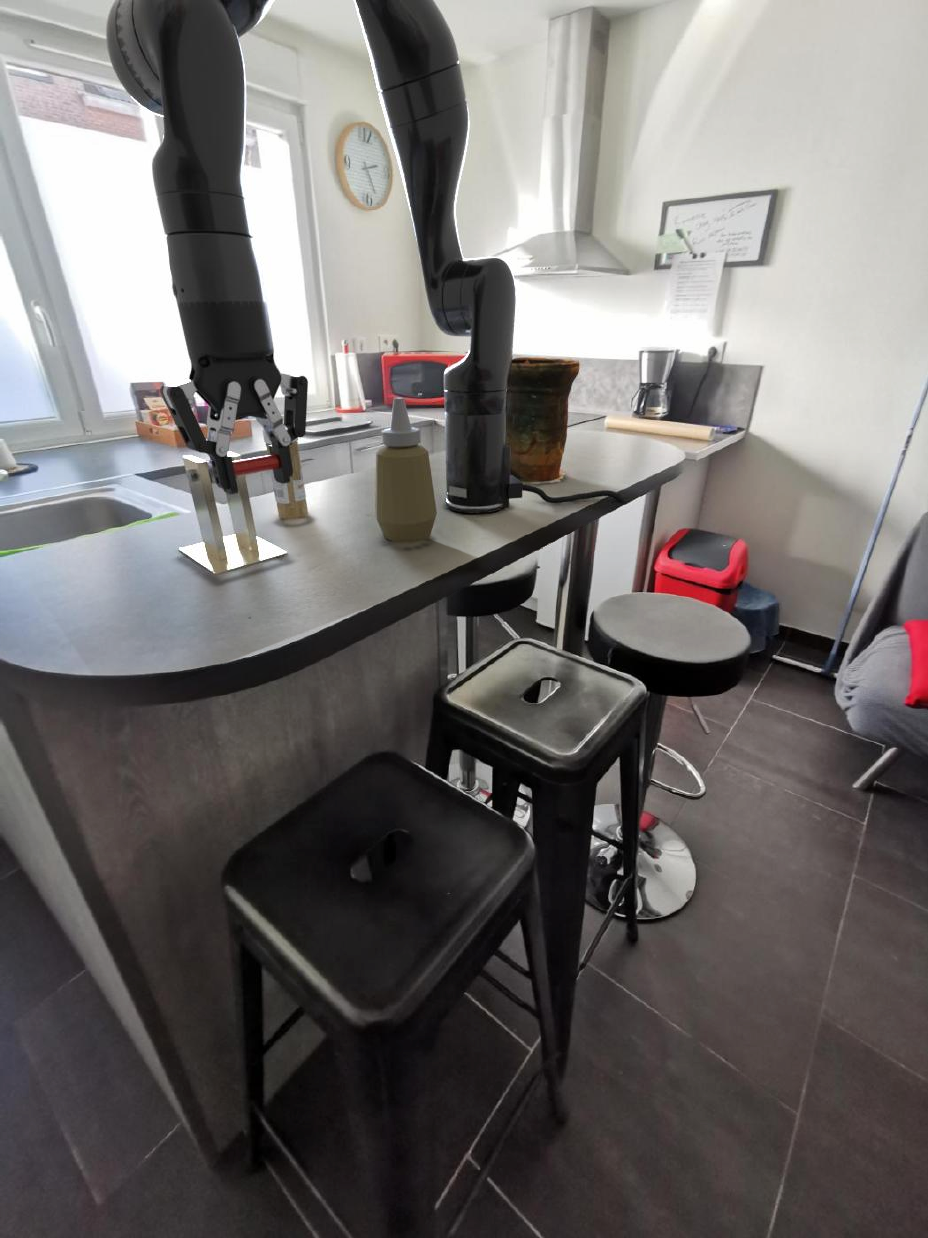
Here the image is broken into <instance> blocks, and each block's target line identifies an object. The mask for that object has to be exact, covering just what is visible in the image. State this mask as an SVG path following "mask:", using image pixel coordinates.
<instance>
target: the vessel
mask: <svg viewBox="0 0 928 1238" xmlns="http://www.w3.org/2000/svg"><path fill="white" fill-rule="evenodd" d="M579 373H580V361H579V360H576V359H575V360H574V359H572V358H547V357H530V356H529V357H528V356H527V357H525V356H523V357H515V358H512V365H511V369H510V373H509V376H508V388H507V389H508V390H507V434H506V443H507V444H509V445H510V448H511V451H510V475H513V476H514V477H516V478H517V479H518V480H520V481H521V482H522V483H523V484H525V485H540V484H542V483H543V484H544V483H545V484H548V483H551V484H552V483H556V482H557V483H559V482H561V480H562V479H564V475H565V472H563V470H561V466H562V461H563V455H564V453H565V448H566V443H567V437H568V422H569V397H570V394H571V391H572V386H573V383H574V382H575V380H576V379H577V377H578V376H579Z"/></svg>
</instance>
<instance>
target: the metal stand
mask: <svg viewBox="0 0 928 1238" xmlns="http://www.w3.org/2000/svg"><path fill="white" fill-rule="evenodd" d="M227 455H229V456H231V457H232V461H238V460H243V457H242V455H241V454H238V453H235V452H232V451H230V450H229V451H228V454H227ZM182 460H183V465H184V469H185V473H186V474H185V475H186V478H187V481H188V485H189V489H190V493H191V499H192V501H193V506H194V511H195V514H196V518H197V522H198V523H197V524H198V527H199V531H200V535H201V539H202V542H200V543H196V544H193V545H188V546H185V547H179V548H178V551H179V552H181V553H182V554H184V555H185V556H186V557H188V558H190V559H191V560H193V561H194V562H195V563H197V564H198V565H199V566H201V567H203V568H204V569H206V570H207V571H209V572H210V573H211V574H212V575H214V576H218V575H220V574H223V573H228V572H230V571H234V570H238V569H241V568H244V567H248V566H251V565H256V564H259V563H262V562H265V561H269V560H272V559H276V558H279V557H283V556H286V555H288V551H286V550H283V549H281V548H280V547H278V546H276V545H274V544H272V543H271V542H268V541H266V540H265V539H262V538H261V537H258V535H257V530H256V525H255V520H254V519H255V518H254V514H253V509H252V504H251V499H250V496H249V495H250V494H249V489H248V484H247V479H246V475H241V476H236V481H237V486H238V493H236V494H231V495H230V494H228V493H226V492H225V495H226V500H227V505H228V510H229V514H230V519H231V522H232V528H233V532H234V533H233V534H232V535H228V536H224V534H223V529H222V525H221V520H220V515H219V512H218V507H217V503H216V502H217V501H216V497H215V494H214V489H213V485H212V484H211V480H210V475H209V471H208V466H207V462H208V461H206V460H204V459H202V458H199V457H196V456H193V455H191V454H190V455H183V456H182Z"/></svg>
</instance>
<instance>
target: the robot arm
mask: <svg viewBox="0 0 928 1238" xmlns="http://www.w3.org/2000/svg"><path fill="white" fill-rule="evenodd" d="M275 1H276V0H114V2H113V3H112V6H111V8H110V10H109V13H108V15H107V20H106V27H105V28H106V29H105V37H106V38H105V39H106V48H107V52H108V57H109V60H110V64H111V67H112V69H113V71H114V73H115V76H116V78H117V79H118V81H119V83H120V84H121V86H122V87H123V89H124V91H126V93H127V94H128V95H129V96H130V97H131V98H132V99H133V100H134V101H135V102H136V103H137V104H138V105H139V106H140V107H142V108H143V109H145V110H146V111H148V112H149V113H152V114H154V115H156V116H160V117H162V120H163V136H162V140H161V143H160V144H159V147H158V148H157V150H156V152H155V153H154V155H153V157H152V161H151V171H152V173H151V174H152V180H153V187H154V191H155V196H156V201H157V206H158V210H159V215H160V219H161V223H162V227H163V232H164V236H165V242H166V249H167V260H168V261H167V262H168V268H169V273H170V278H171V284H172V285H171V289H172V293H173V296H174V298H175V301H176V304H177V309H178V313H179V318H180V322H181V327H182V328H181V329H182V331H183V336H184V341H185V343H186V344H185V345H186V350H187V353H188V357H189V361H190V373H189V376H188V379H187V380H185V381H181V382H179V383H175V384H173V385H171V384H162V385H161V386H160V389H159V393H160V396H161V397H162V399H163V401H164V403H165V405H166V408H167V409H168V411H169V414H170V415H171V418H172V420H173V422H174V424H175V426H176V428H177V430H178V432H179V434H180V436H181V439H182V441H183V443H184V444H185V446H186V448H187V449H188V450H192V451H195V452H198V453H202V454H206V455H208V457H209V460H210V461H211V465H212V469H213V474H214V478H215V482H216V483H215V484H216V486H217V487H218V488H219V489H222V490H223V492H224V493H225V494H226V493H228V494H230V495H231V494H236V493H238V486H237V481H236V476H235V472H234V467H233V462H232V457H231V456H229V455H227V454H228V451H229V452H230V445H231V444H230V443H231V437H232V434H233V433H234V431H235V426H236V421H241V420H244V419H246V418H247V417H252V418H255V420H256V422H257V423H258V424H259V425H260V426H261V427H262V430H263V429H264V431H265V432H266V434H267V436H268V438H269V440H270V441H271V443H272V445H270V446H269V451H270V455H276V456H277V457H278V459H279V464H280V466H279V468H278V469H273V473H274V478H275V480H276V481H277V482H279V483H282V484H284V483H289V482H290V476H292V475H293V467H292V462H291V461H292V460H291V454H290V443H291V442H292V441H293V440H295V439H296V438H298V439H299V438H303V437H305V434H306V429H307V412H308V411H307V410H308V409H307V408H308V389H309V380H308V378H307V377H306V376H304V375H300V374H287V373H281V370H280V369H279V367H278V366H277V364H276V362H275V357H274V356H275V349H274V348H275V347H274V343H273V342H274V341H273V335H272V329H271V323H270V316H269V309H268V304H267V297H266V291H265V285H264V278H263V272H262V268H261V265H260V264H261V263H260V260H259V257H258V253H257V249H256V246H255V241H254V239H253V237H254V235H253V230H252V229H253V228H252V223H251V217H250V212H249V205H248V199H247V192H246V188H245V183H244V167H245V155H246V126H247V125H246V124H247V122H246V121H247V81H246V69H245V62H244V55H243V51H242V46H241V43H240V38H241V37H243V36H245V34H247V33H249V32H250V31H251V30H253V29H254V28H255V27H257V25H259V24H260V22H261V21H262V20H263V19H264V18H265V16H267V13H269V11H270V10H271V7H272V5H273V4H274V3H275ZM353 1H354V5H355V8H356V11H357V16H358V19H359V22H360V26H361V29H362V33H363V36H364V37H363V38H364V40H365V44H366V48H367V51H368V55H369V59H370V63H371V68H372V71H373V76H374V79H375V84H376V88H377V92H378V96H379V100H380V104H381V107H382V111H383V115H384V119H385V123H386V126H387V130H388V134H389V136H390V139H391V143H392V146H393V150H394V153H395V156H396V160H397V165H398V167H399V168H398V169H399V171H400V172H399V173H400V176H401V180H402V184H403V187H404V191H405V195H406V200H407V204H408V209H409V212H410V216H411V221H412V225H413V230H414V235H415V240H416V246H417V251H418V256H419V262H420V267H421V272H422V273H421V274H422V278H423V283H424V289H425V290H424V291H425V294H426V299H427V302H428V308H429V310H430V313H431V316H432V318H433V321H434V324H435V325H436V326H437V328H438V329H439V330H440V331H441V332H442V333H443V334H445V335H447V336H450V337H467V338H469V337H470V340H469V341H470V343H469V348H468V352H467V354H466V355H465V356H464V357H463V358H461V360H459V361H458V362H456V363H453V364H451V365H449V366H447V367H446V368H445V369H444V371H443V402H444V403H443V404H444V443H445V446H444V447H445V474H446V475H445V482H446V491H445V492H446V497H445V503H446V507H447V508H448V509H449V510H451V511H454V512H459V513H463V514H487V513H493V512H497V511H499V510H502V509H509V508H510V500H512V499H513V500H514V499H522V498H523V493H524V492H523V491H525V492H530V493H534V494H536V495H538V496H539V497H540V498H541V499H542V500H543V501H544V502H546V503H548V504H563V503H571V502H575V501H581V500H588V499H595V498H601V497H610V498H613V499H615V500H616V501H617V502H618V503H620V504H621V503H622V504H624V503H625V504H626V503H627V499H626V498H625V497H624V496H623V495H622V494H620V493H618V492H617V491H613V490H609V489H604V490H603V489H602V490H596V491H595V490H594V491H590V492H583V493H574V494H571V495H564V496H556V497H553V496H549V495H548V494H547V493H546V492H545V490H543V489H542V488H539V487H538V486H534V485H532V484H523V483H522V482H521V481H520V480H518V479H517V478H516V477H514V476H513V475H510V451H511V448H510V445H509V444H507V443H506V434H507V390H508V389H507V388H508V376H509V373H510V369H511V365H512V359H514V358H513V355H514V343H515V342H514V339H515V327H516V314H517V287H516V280H515V277H514V273H513V271H512V268H511V267H510V265H509V263H508V262H507V261H506V260H505V259H503V258H500V257H496V256H486V257H484V256H483V257H475V258H473V257H472V258H465V257H464V256H463V251H462V247H461V244H460V243H461V242H460V237H459V232H458V226H457V213H456V211H457V209H456V208H457V197H458V192H459V186H460V181H461V177H462V172H463V168H464V165H465V159H466V153H467V148H468V142H469V133H470V113H469V106H468V102H467V101H468V100H467V95H466V90H465V84H464V79H463V74H462V73H463V72H462V69H461V63H460V58H459V52H458V49H457V44H456V41H455V38H454V35H453V33H452V30H451V28H450V27H449V24H448V22H447V21H446V19H445V16H444V15H443V13H442V12H441V10H440V8H439V7H438V4H437V3H436V1H434V0H353ZM279 388H280V391H281V394H282V395H283V396H284V403H283V405H284V406H283V416H282V414H281V412H280V411H279V408H278V407H277V404H276V403H275V400H274V399H275V397H276V395H277V392H278V390H279ZM195 394H197V395H198V396H199V397H200V398H201V399H202V400H203V401H204V402H205V403H206V404H207V405H208V409H207V416H206V427H207V433H206V437H205V434H204V432H203V431H202V428H201V426H200V424H199V421H198V419H197V417H196V416H195V415H196V414H195V413H194V411H193V409H192V408H193V407H194V406H195V402H196V401H195V397H194V396H195ZM619 645H621V643H619Z"/></svg>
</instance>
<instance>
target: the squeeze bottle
mask: <svg viewBox="0 0 928 1238" xmlns="http://www.w3.org/2000/svg"><path fill="white" fill-rule="evenodd" d="M381 439H382V440H381V441H382V444H383V445H384V446H381V447H380V448H379V449H378V450H377V451H376V452H375V490H374V491H375V493H374V496H375V499H374V516H375V519H376V521H377V524H378V526H379V528H380V530H381V533H382V535H383V537H384V538H385V539H387V540H389V541H393V542H406V543H407V542H408V543H409V542H416V541H420V540H424V539H427V540H430V538H431V535H432V532H433V528H434V524H435V521H436V518H437V511H438V510H437V505H436V498H435V491H434V484H433V475H432V468H431V462H430V455H429V450H428V449H426V448H425V447H424V445H420V443H421V429H420V428H419V427H413V426H412V425H411V421H410V417H409V414H408V409H407V405H406V402H405V398H404V397H393V402H392V410H391V417H390V424H389V427H388V428H384V429H382V430H381Z"/></svg>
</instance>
